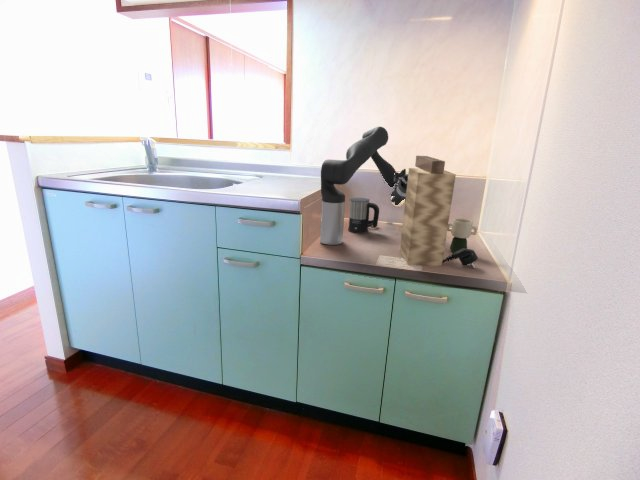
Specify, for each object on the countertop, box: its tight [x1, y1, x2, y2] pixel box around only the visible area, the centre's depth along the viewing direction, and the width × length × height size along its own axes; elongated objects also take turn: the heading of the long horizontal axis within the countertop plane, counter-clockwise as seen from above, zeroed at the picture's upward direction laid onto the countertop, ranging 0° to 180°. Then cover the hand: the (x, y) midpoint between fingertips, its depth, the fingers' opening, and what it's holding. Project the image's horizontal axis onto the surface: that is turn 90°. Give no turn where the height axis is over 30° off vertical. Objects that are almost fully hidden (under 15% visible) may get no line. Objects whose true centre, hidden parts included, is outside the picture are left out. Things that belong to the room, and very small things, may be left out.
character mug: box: [447, 217, 478, 253], centre depth 135 cm, size 11×7×13 cm, turn 64°
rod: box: [414, 155, 446, 174], centre depth 122 cm, size 4×23×4 cm, turn 178°
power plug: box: [442, 248, 479, 269], centre depth 122 cm, size 6×8×12 cm
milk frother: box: [347, 197, 380, 234], centre depth 162 cm, size 14×16×15 cm
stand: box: [399, 167, 457, 267], centre depth 124 cm, size 12×15×32 cm
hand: (415, 171), depth 141 cm, fingers open, 8 cm apart
